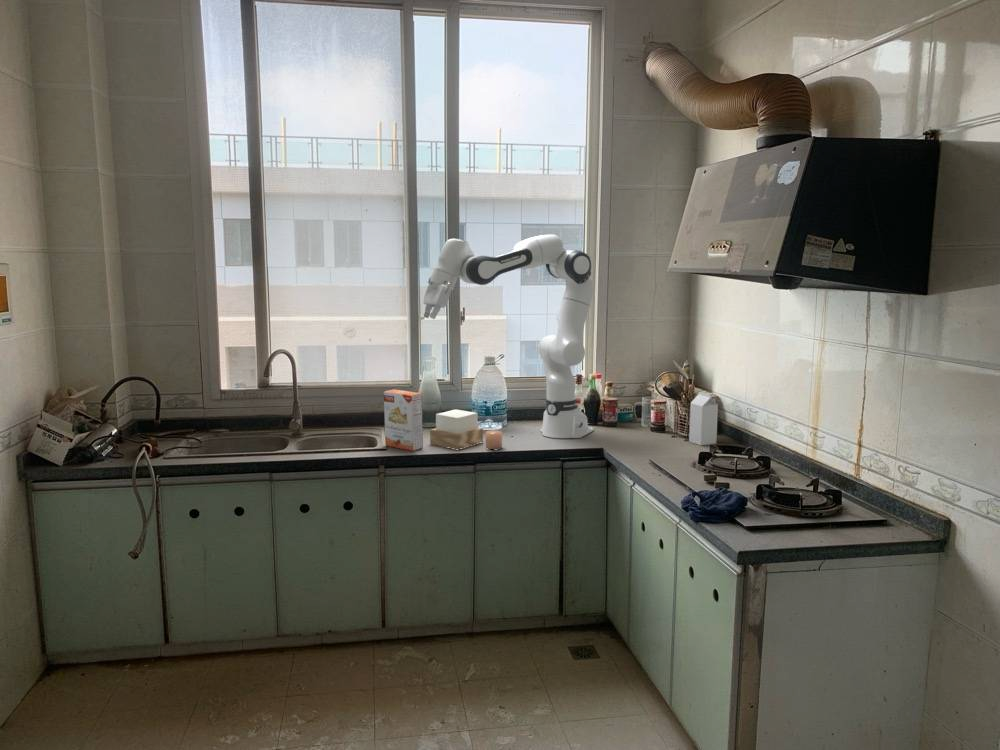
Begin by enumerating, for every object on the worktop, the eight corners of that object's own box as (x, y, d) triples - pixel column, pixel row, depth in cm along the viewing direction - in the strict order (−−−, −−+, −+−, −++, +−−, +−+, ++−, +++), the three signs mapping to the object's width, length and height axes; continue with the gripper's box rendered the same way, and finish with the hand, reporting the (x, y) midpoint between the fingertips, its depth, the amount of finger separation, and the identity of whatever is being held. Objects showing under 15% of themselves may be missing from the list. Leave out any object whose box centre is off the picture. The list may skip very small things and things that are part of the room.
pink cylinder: (493, 445, 276) (492, 429, 275) (505, 447, 272) (505, 431, 271) (482, 448, 272) (482, 432, 271) (494, 451, 268) (494, 434, 267)
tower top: (455, 424, 285) (455, 409, 284) (477, 428, 278) (477, 412, 277) (436, 429, 276) (435, 414, 276) (458, 434, 270) (457, 417, 269)
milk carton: (700, 446, 273) (702, 395, 270) (688, 441, 280) (690, 392, 277) (716, 444, 276) (718, 394, 273) (704, 439, 282) (706, 390, 279)
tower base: (455, 438, 288) (455, 423, 287) (482, 443, 279) (482, 428, 278) (430, 445, 278) (429, 429, 277) (457, 451, 269) (457, 435, 268)
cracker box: (384, 446, 275) (382, 391, 272) (395, 443, 280) (394, 388, 276) (412, 452, 267) (411, 395, 263) (423, 448, 272) (422, 392, 268)
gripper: (458, 284, 254) (444, 322, 253) (443, 285, 273) (430, 320, 273) (442, 277, 251) (427, 315, 251) (427, 278, 271) (414, 313, 270)
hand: (428, 317), depth 262 cm, fingers open, 8 cm apart
